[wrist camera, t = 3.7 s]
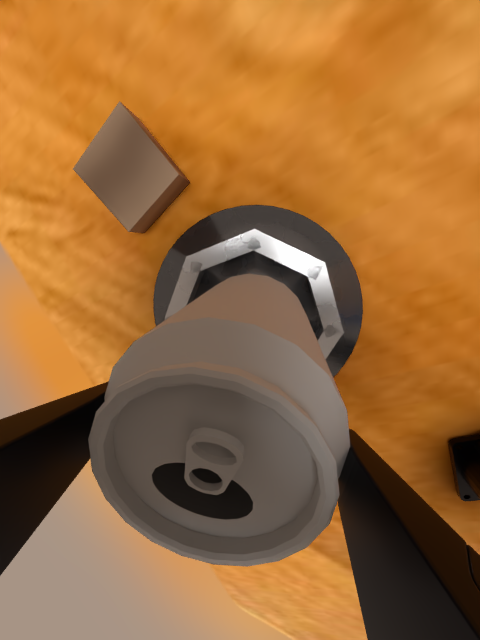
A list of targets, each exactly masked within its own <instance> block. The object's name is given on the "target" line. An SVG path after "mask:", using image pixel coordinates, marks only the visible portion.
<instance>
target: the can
mask: <svg viewBox="0 0 480 640" xmlns="http://www.w3.org/2000/svg"><path fill="white" fill-rule="evenodd" d="M104 399H105V402H104V403H103V404H102V405H101V407H100V408H99V409H98V410H97V411H96V414H95V417H94V421H93V424H92V428H91V431H90V435H89V438H88V442H89V450H90V458H91V466H92V472H93V474H94V476H95V478H96V480H97V482H98V484H99V486H100V488H101V490H102V492H103V494H104V496H105V498H106V500H107V501H108V502H109V503H110V504H111V505H112V507H113V508H114V509H115V510H116V511H117V512H118V513H119V515H120V516H121V517H122V518H123V519H124V521H125V522H127V523H128V524H129V525H130V526H132V527H133V528H134V529H136V530H137V531H138V532H140V533H141V534H143V535H144V536H145V537H147V538H148V539H149V540H150V541H152V542H154V543H156V544H158V545H160V546H162V547H165V548H166V549H169V550H171V551H173V552H175V553H177V554H179V555H181V556H184V557H188V558H192V559H196V560H199V561H203V562H207V563H211V564H216V565H233V566H252V565H258V564H264V563H270V562H276V561H280V560H282V559H284V558H286V557H288V556H290V555H292V554H294V553H296V552H298V551H300V550H303V549H305V548H306V547H307V546H309V545H310V543H311V542H312V541H313V540H314V539H315V538H316V537H317V536H318V535H319V534H320V533H321V532H322V531H323V530H324V529H325V528H326V527H327V526H328V525H329V524H330V521H331V518H332V515H333V512H334V510H335V507H336V504H337V501H338V498H339V495H340V494H339V485H338V478H339V477H340V474H341V471H342V468H343V466H344V463H345V460H346V457H347V454H348V451H349V448H350V438H349V427H348V415H347V409H346V407H345V405H344V402H343V400H342V398H341V395H340V393H339V391H338V388H337V386H336V383H335V381H334V379H333V376H332V374H331V372H330V369H329V367H328V365H327V362H326V360H325V358H324V355H323V353H322V350H321V348H320V346H319V343H318V341H317V339H316V336H315V334H314V332H313V329H312V327H311V325H310V322H309V320H308V317H307V315H306V313H305V311H304V309H303V307H302V305H301V303H300V301H299V299H298V297H297V296H296V295H295V294H294V293H293V292H292V291H291V290H290V289H289V288H288V287H287V286H286V285H285V284H283V283H281V282H279V281H277V280H275V279H273V278H271V277H269V276H264V275H257V274H243V275H238V276H233V277H230V278H228V279H226V280H224V281H223V282H221V283H219V284H217V285H216V286H214V287H213V288H211V289H210V290H208V291H207V292H205V293H204V294H203V295H201V296H200V297H198V298H197V299H195V300H194V301H192V302H191V303H189V304H188V305H187V306H185V307H184V308H182V309H181V310H179V311H178V312H176V313H175V314H174V315H172V316H171V317H169V318H168V319H166V320H165V321H163V322H162V323H160V324H159V325H158V326H156V327H155V328H153V329H152V330H150V331H149V332H147V333H146V334H144V335H143V336H142V337H140V338H139V339H137V340H136V341H134V342H133V344H132V345H131V346H130V347H129V348H128V350H127V351H126V352H125V353H124V355H123V356H122V357H121V358H120V359H119V361H118V362H117V363H116V364H115V366H114V367H113V369H112V372H111V376H110V379H109V383H108V386H107V389H106V393H105V396H104Z"/></svg>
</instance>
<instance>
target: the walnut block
mask: <svg viewBox="0 0 480 640" xmlns="http://www.w3.org/2000/svg"><path fill="white" fill-rule="evenodd" d="M73 170H74V171H75V172H76V173H77V174H78V175H79V176H80V177H81V179H82V180H83V181H84V182H85V183H86V184H87V185H88V186H89V188H90V189H91V190H92V191H93V192H94V193H95V194H96V195H97V197H98V198H99V199H100V200H101V201H102V202H103V203H104V204H105V206H106V207H107V208H108V209H109V210H110V211H111V212H112V214H113V215H114V216H115V217H116V218H117V219H118V220H119V221H120V223H121V224H122V225H123V226H124V227H125V228H126V229H127V230H128V232H138V233H145V232H146V231H147V229H148V228H149V227H150V226H151V225H152V224H153V223H154V222H155V221H156V219H157V218H158V217H159V216H160V215H161V214H162V213H163V212H164V211H165V209H166V208H167V207H168V206H169V205H170V204H171V203H172V202H173V201H174V200H175V198H176V197H177V196H178V195H179V194H180V193H181V192H182V191H183V190H184V188H185V187H186V186H187V185H188V184H189V183H190V182H189V180H188V179H187V178H186V177H185V175H184V174H183V173H182V172H181V171H180V169H179V168H178V167H177V166H176V164H175V163H174V162H173V161H172V159H171V158H170V157H169V156H168V154H167V153H166V152H165V151H164V149H163V148H162V147H161V146H160V145H159V143H158V142H157V141H156V140H155V138H154V137H153V136H152V135H151V133H150V132H149V131H148V130H147V128H146V127H145V126H144V125H143V123H142V122H141V121H140V120H139V119H138V118H137V117H136V116H135V115H134V114H133V113H132V112H131V111H130V110H129V109H128V108H126V107H125V106H124V105H123V104H122V103H121V102H120V101H119V103H118V104H117V106H116V107H115V109H114V110H113V112H112V113H111V114H110V116H109V117H108V119H107V120H106V122H105V123H104V125H103V126H102V128H101V129H100V130H99V132H98V133H97V135H96V136H95V138H94V139H93V141H92V142H91V143H90V145H89V146H88V148H87V149H86V151H85V152H84V154H83V155H82V156H81V158H80V159H79V161H78V162H77V164H76V165H75V167H74V168H73Z"/></svg>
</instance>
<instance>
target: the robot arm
mask: <svg viewBox="0 0 480 640" xmlns="http://www.w3.org/2000/svg"><path fill="white" fill-rule="evenodd" d="M108 383H109V382H106V383H103V384H100V385H97V386H94V387H92V388H89V389H86V390H83V391H80V392H78V393H75V394H72V395H69V396H66V397H63V398H60V399H57V400H55V401H52V402H49V403H46V404H43V405H40V406H38V407H35V408H32V409H29V410H26V411H23V412H20V413H17V414H15V415H12V416H9V417H6V418H3V419H1V420H0V575H1V574H2V573H3V571H4V570H5V569H6V567H7V566H8V565H9V564H10V562H11V561H12V560H13V558H14V557H15V556H16V555H17V553H18V552H19V551H20V549H21V548H22V547H23V545H24V544H25V543H26V541H27V540H28V539H29V537H30V536H31V535H32V534H33V532H34V531H35V530H36V528H37V527H38V526H39V525H40V523H41V522H42V520H43V519H44V518H45V516H46V515H47V514H48V513H49V511H50V510H51V509H52V508H53V506H54V505H55V504H56V502H57V501H58V500H59V498H60V497H61V496H62V494H63V493H64V492H65V491H66V489H67V488H68V487H69V485H70V484H71V483H72V481H73V480H74V479H75V478H76V476H77V475H78V474H79V472H80V471H81V469H82V468H83V467H84V466H85V464H86V463H87V462H88V461H89V459H90V450H89V442H88V438H89V435H90V431H91V428H92V424H93V421H94V417H95V414H96V411H97V410H98V409H99V408H100V407H101V405H102V404H103V403H104V402H105V399H104V396H105V393H106V389H107V386H108ZM349 438H350V448H349V451H348V454H347V457H346V460H345V463H344V466H343V468H342V471H341V474H340V477H339V478H338V485H339V494H340V495H339V498H338V506H339V511H340V516H341V520H342V525H343V529H344V534H345V539H346V543H347V548H348V552H349V557H350V561H351V566H352V570H353V575H354V579H355V584H356V588H357V593H358V597H359V602H360V607H361V611H362V616H363V620H364V625H365V629H366V634H367V638H368V640H480V555H479V554H478V553H477V552H476V551H475V550H474V549H473V548H472V547H471V546H469V545H466V542H465V541H464V540H463V539H462V538H461V537H460V536H459V535H458V534H457V533H456V532H455V531H454V530H453V529H452V528H451V527H450V526H449V525H448V524H447V523H446V522H445V521H444V520H443V519H442V518H441V517H440V516H439V515H438V514H437V513H436V512H435V511H434V510H433V509H432V508H431V507H430V506H429V505H428V504H427V503H426V502H425V501H424V500H423V499H422V498H421V497H420V496H419V495H418V494H417V493H416V492H415V491H414V490H413V489H412V488H411V487H410V486H409V485H408V484H407V483H406V482H405V481H404V480H403V479H402V478H401V477H400V476H399V475H398V474H397V473H396V472H395V471H394V470H393V469H392V468H391V467H390V466H389V465H388V464H387V463H386V462H385V461H384V460H383V459H382V458H381V457H380V456H379V455H378V454H377V453H376V452H375V451H374V450H373V449H372V448H371V447H370V446H369V445H368V444H367V443H366V442H365V441H364V440H363V439H362V438H361V437H360V436H359V435H358V434H357V433H356V432H355V431H353V430H352V429H349ZM449 449H450V455H451V461H452V467H453V472H454V478H455V484H456V490H457V494H458V496H459V497H460V498H461V500H463V501H475V500H480V435H475V436H468V437H462V438H455V439H452V440H451V441H450V442H449Z"/></svg>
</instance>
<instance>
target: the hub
mask: <svg viewBox="0 0 480 640" xmlns="http://www.w3.org/2000/svg"><path fill="white" fill-rule="evenodd" d="M243 274H257V275H264V276H269V277H271V278H273V279H275V280H277V281H279V282H281V283H283V284H285V285H286V286H287V287H288V288H289V289H290V290H291V291H292V292H293V293H294V294H295V295H296V296H297V297H298V299H299V301H300V303H301V305H302V307H303V309H304V311H305V313H306V315H307V317H308V320H309V322H310V325H311V327H312V329H313V332H314V334H315V336H316V339H317V341H318V343H319V346H320V348H321V350H322V353H323V355H324V358H325V360H326V362H327V365H328V367H329V369H330V372H331V374H332V376H333V377H334V376H335V375H336V374H337V373H338V372H339V370H340V369H341V368H342V367H343V365H344V364H345V363H346V361H347V359H348V358H349V356H350V355H351V353H352V351H353V349H354V346H355V344H356V342H357V339H358V335H359V332H360V328H361V322H362V314H363V308H362V294H361V288H360V283H359V280H358V277H357V274H356V271H355V269H354V267H353V265H352V263H351V261H350V259H349V257H348V255H347V254H346V253H345V251H344V250H343V248H342V247H341V245H340V244H339V243H338V242H337V241H336V240H335V239H334V238H333V237H332V236H331V235H330V233H328V232H327V231H326V230H324V229H323V228H322V227H321V226H319V225H318V224H317V223H315V222H313V221H312V220H310V219H308V218H306V217H305V216H303V215H300V214H298V213H295V212H293V211H290V210H287V209H283V208H278V207H274V206H264V205H248V206H239V207H234V208H229V209H225V210H222V211H220V212H217V213H214V214H212V215H210V216H208V217H206V218H204V219H202V220H200V221H199V222H198V223H196V224H195V225H193V226H192V227H191V228H189V229H188V230H187V231H186V232H185V233H184V234H183V235H182V236H181V237H180V238H179V239H178V240H177V241H176V242H175V244H174V245H173V246H172V248H171V249H170V250H169V252H168V254H167V256H166V257H165V259H164V261H163V263H162V265H161V268H160V270H159V273H158V276H157V280H156V284H155V291H154V316H155V323H156V326H158V325H159V324H160V323H162V322H163V321H165V320H166V319H168V318H169V317H171V316H172V315H174V314H175V313H176V312H178V311H179V310H181V309H182V308H184V307H185V306H187V305H188V304H189V303H191V302H192V301H194V300H195V299H197V298H198V297H200V296H201V295H203V294H204V293H205V292H207V291H208V290H210V289H211V288H213V287H214V286H216V285H217V284H219V283H221V282H223V281H224V280H226V279H228V278H230V277H233V276H238V275H243Z"/></svg>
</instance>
